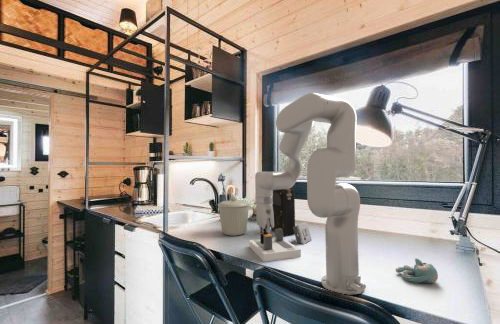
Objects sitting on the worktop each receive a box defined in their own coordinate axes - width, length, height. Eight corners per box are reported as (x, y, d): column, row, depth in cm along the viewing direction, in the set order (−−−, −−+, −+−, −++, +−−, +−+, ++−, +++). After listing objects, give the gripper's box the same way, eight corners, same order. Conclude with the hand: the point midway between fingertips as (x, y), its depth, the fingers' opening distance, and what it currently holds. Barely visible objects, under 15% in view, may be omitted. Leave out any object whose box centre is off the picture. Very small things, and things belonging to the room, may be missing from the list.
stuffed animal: (401, 253, 93) (439, 255, 84) (405, 274, 92) (445, 279, 83) (386, 260, 87) (427, 263, 77) (391, 283, 85) (433, 289, 76)
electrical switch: (303, 245, 122) (301, 225, 123) (293, 244, 126) (291, 224, 126) (312, 240, 130) (310, 221, 130) (302, 239, 133) (300, 221, 134)
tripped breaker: (272, 248, 107) (271, 235, 107) (265, 249, 106) (265, 235, 106) (270, 247, 109) (270, 233, 109) (263, 247, 108) (263, 234, 108)
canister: (239, 239, 133) (238, 198, 133) (211, 235, 142) (210, 196, 142) (256, 231, 149) (255, 194, 149) (230, 228, 158) (229, 193, 158)
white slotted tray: (300, 256, 106) (300, 249, 106) (264, 261, 102) (263, 253, 102) (281, 243, 125) (280, 236, 125) (249, 246, 121) (249, 239, 121)
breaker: (283, 240, 118) (282, 229, 118) (277, 240, 117) (276, 229, 117) (281, 239, 120) (281, 228, 120) (275, 239, 119) (275, 228, 119)
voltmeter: (269, 230, 150) (268, 187, 151) (281, 228, 154) (281, 186, 155) (283, 237, 136) (282, 189, 137) (297, 235, 140) (296, 188, 140)
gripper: (279, 202, 105) (279, 247, 105) (266, 197, 119) (266, 237, 119) (261, 203, 103) (262, 249, 103) (250, 198, 117) (251, 239, 117)
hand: (264, 243), depth 111 cm, fingers closed
